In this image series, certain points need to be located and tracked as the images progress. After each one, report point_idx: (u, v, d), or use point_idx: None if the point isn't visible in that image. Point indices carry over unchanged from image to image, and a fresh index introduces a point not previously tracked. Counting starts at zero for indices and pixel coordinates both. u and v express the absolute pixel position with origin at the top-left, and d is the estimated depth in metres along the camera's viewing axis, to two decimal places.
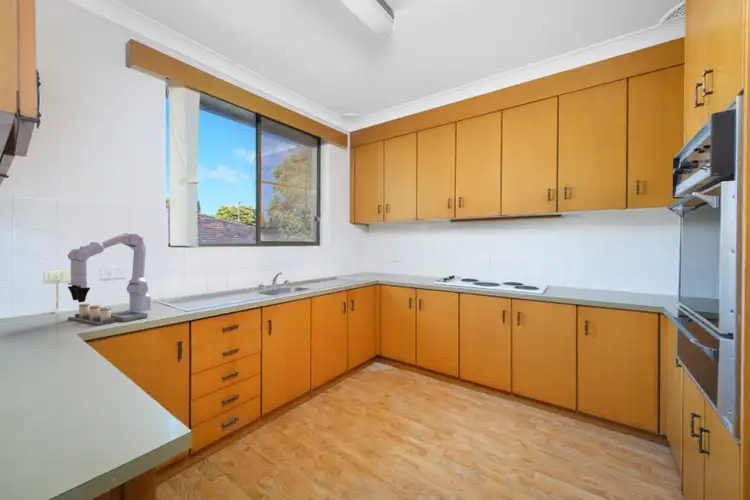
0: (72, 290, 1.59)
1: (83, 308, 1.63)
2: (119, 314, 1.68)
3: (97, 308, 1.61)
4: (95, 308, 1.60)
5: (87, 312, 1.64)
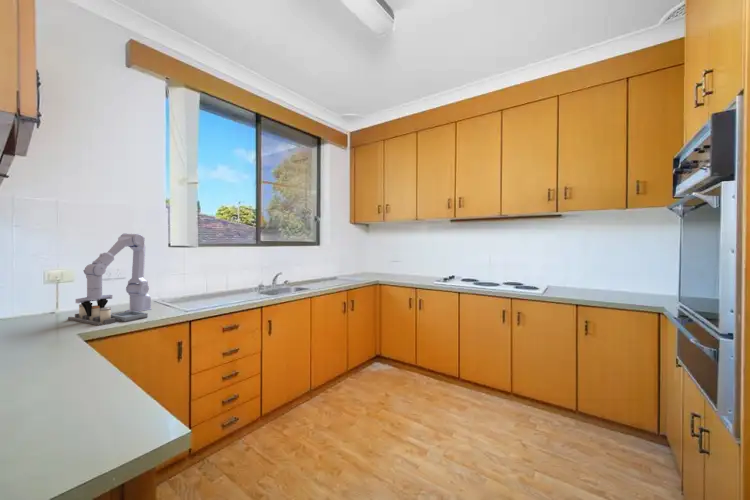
0: (98, 304, 1.64)
1: (83, 308, 1.63)
2: (119, 314, 1.68)
3: (97, 308, 1.61)
4: (95, 308, 1.60)
5: None
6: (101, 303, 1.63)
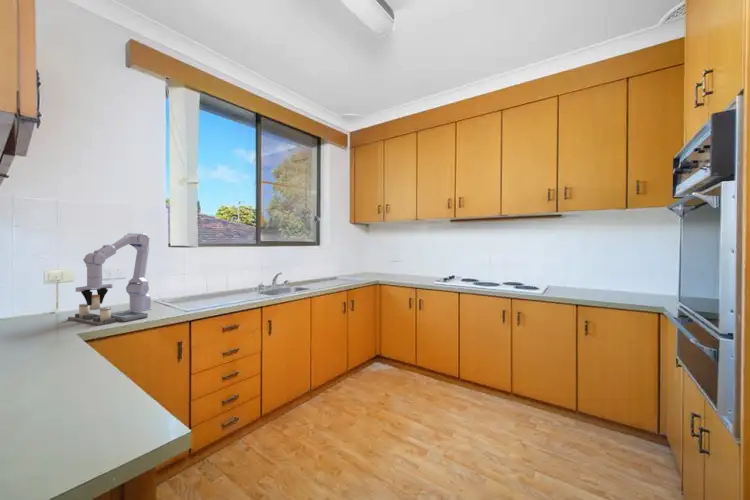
0: (98, 293, 1.64)
1: (83, 308, 1.63)
2: (119, 314, 1.68)
3: (97, 297, 1.61)
4: (95, 297, 1.60)
5: (87, 312, 1.64)
6: (101, 292, 1.62)
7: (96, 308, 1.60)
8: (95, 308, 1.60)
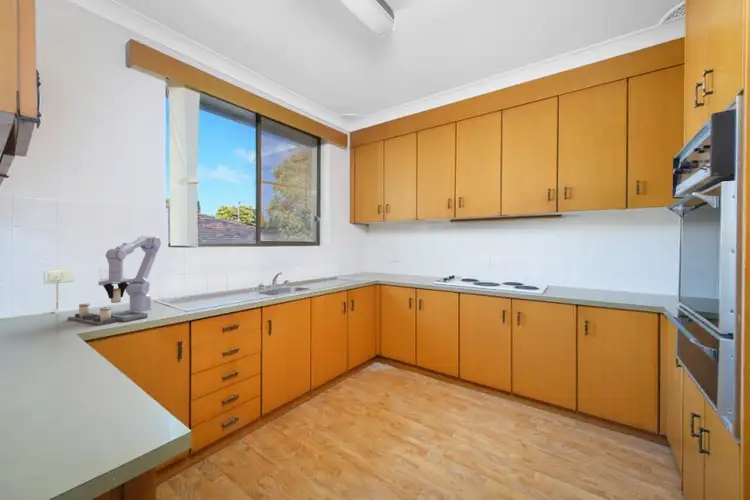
0: (118, 287, 1.72)
1: (83, 308, 1.63)
2: (119, 314, 1.68)
3: (118, 291, 1.69)
4: (116, 290, 1.68)
5: (87, 312, 1.64)
6: (122, 286, 1.70)
7: (117, 301, 1.68)
8: (116, 301, 1.68)
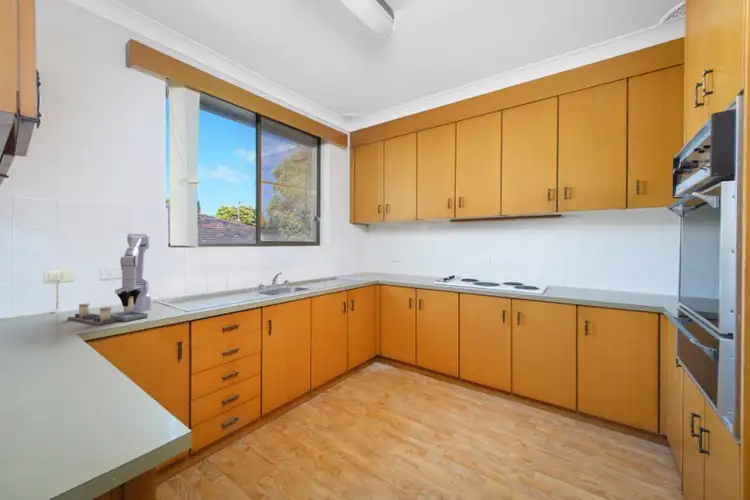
0: (130, 295, 1.69)
1: (83, 308, 1.63)
2: (119, 314, 1.68)
3: (132, 298, 1.67)
4: (131, 298, 1.66)
5: (87, 312, 1.64)
6: (135, 293, 1.68)
7: (131, 309, 1.66)
8: (131, 309, 1.66)
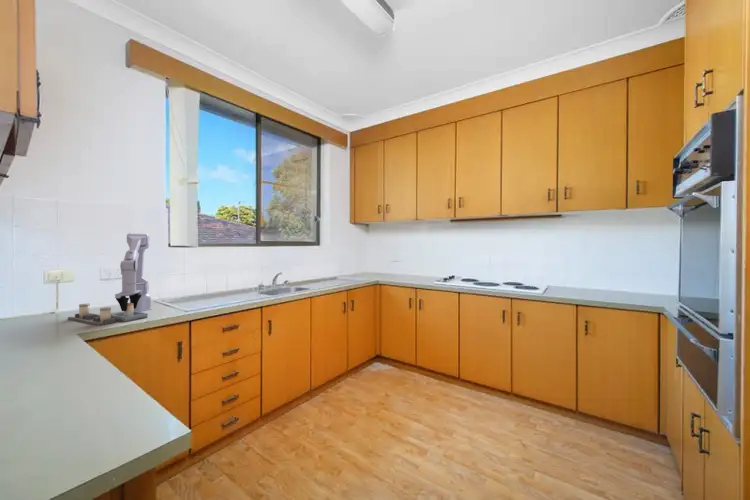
0: (131, 298, 1.69)
1: (83, 308, 1.63)
2: (119, 314, 1.68)
3: (132, 305, 1.67)
4: (131, 305, 1.66)
5: (87, 312, 1.64)
6: (136, 297, 1.69)
7: None
8: None
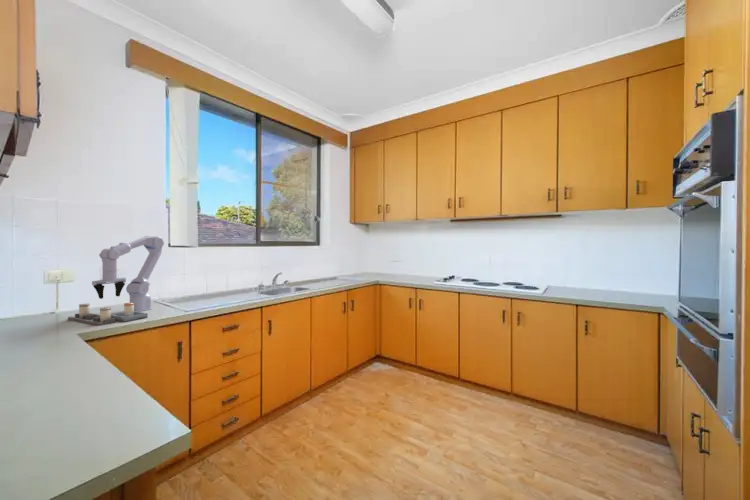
0: (115, 286, 1.73)
1: (83, 308, 1.63)
2: (119, 314, 1.68)
3: (133, 305, 1.67)
4: (131, 305, 1.66)
5: (87, 312, 1.64)
6: (119, 285, 1.72)
7: None
8: None
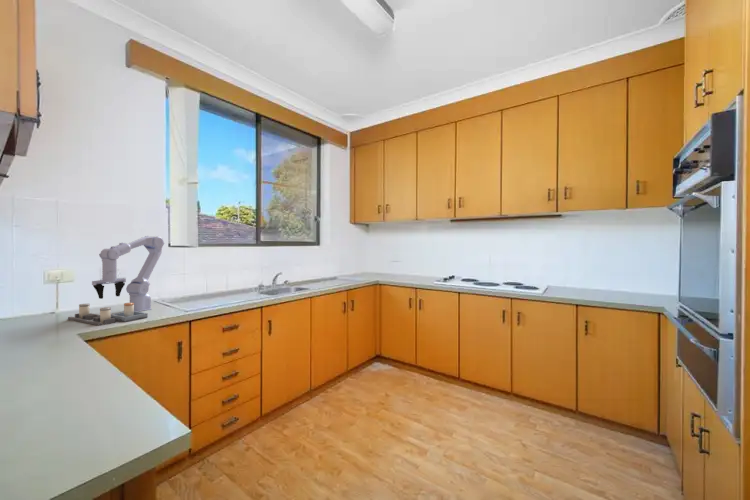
0: (115, 286, 1.73)
1: (83, 308, 1.63)
2: (119, 314, 1.68)
3: (132, 305, 1.66)
4: (131, 305, 1.66)
5: (87, 312, 1.64)
6: (119, 285, 1.72)
7: None
8: None
